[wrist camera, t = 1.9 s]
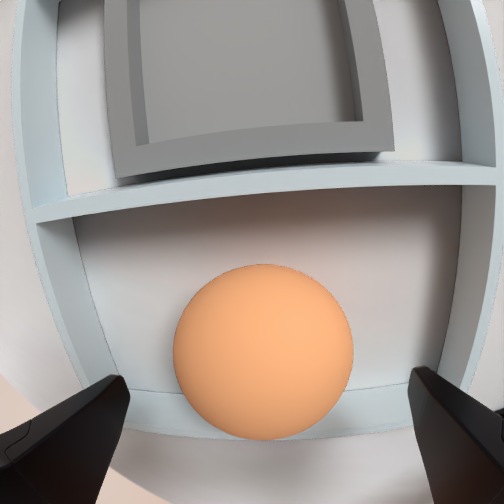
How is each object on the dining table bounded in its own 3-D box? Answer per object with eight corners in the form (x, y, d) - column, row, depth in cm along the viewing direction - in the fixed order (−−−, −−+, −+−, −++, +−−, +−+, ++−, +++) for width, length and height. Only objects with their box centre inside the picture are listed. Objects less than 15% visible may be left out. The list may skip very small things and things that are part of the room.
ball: (338, 362, 14) (356, 468, 8) (210, 367, 15) (176, 467, 9) (339, 236, 12) (380, 313, 6) (186, 247, 13) (118, 323, 7)
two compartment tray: (442, 384, 14) (458, 415, 12) (119, 395, 16) (101, 423, 14) (427, -56, 7) (447, -81, 5) (50, -2, 9) (20, -15, 7)
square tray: (381, 150, 11) (394, 151, 9) (133, 174, 12) (115, 178, 11) (343, -59, 8) (348, -77, 6) (121, -25, 9) (106, -38, 8)
